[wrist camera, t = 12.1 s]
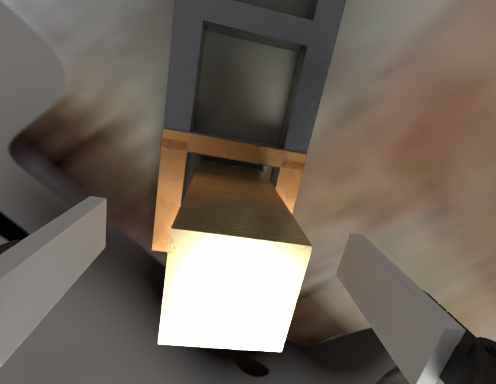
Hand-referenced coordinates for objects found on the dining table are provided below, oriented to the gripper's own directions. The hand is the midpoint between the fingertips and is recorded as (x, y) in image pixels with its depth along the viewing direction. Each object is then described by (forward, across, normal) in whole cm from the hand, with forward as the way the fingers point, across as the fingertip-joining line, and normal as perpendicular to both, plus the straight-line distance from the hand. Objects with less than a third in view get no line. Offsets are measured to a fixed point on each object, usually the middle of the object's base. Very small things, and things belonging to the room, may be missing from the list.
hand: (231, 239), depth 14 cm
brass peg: (+8, 0, 0) cm, 8 cm away
